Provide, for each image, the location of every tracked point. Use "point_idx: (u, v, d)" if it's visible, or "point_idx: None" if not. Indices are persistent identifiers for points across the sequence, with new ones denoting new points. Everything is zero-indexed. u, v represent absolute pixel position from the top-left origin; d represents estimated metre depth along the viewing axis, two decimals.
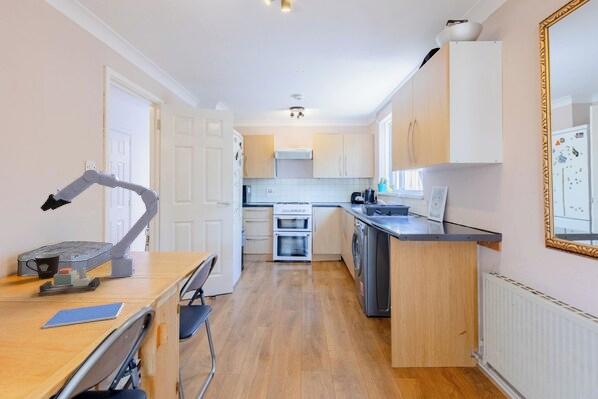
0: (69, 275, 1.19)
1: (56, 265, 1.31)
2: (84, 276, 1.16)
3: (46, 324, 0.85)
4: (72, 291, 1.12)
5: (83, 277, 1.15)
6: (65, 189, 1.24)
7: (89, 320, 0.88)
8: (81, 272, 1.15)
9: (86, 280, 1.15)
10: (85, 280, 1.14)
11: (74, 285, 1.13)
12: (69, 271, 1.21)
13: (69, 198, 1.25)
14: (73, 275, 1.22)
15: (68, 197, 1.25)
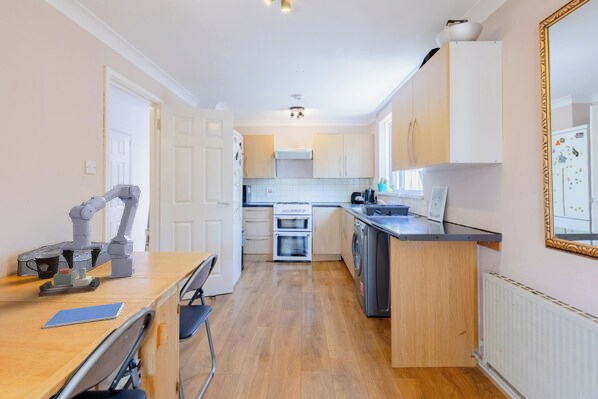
0: (69, 275, 1.19)
1: (56, 265, 1.31)
2: (84, 276, 1.16)
3: (46, 324, 0.85)
4: (72, 291, 1.12)
5: (83, 277, 1.15)
6: (87, 240, 1.15)
7: (89, 320, 0.88)
8: (81, 272, 1.15)
9: (86, 280, 1.15)
10: (85, 280, 1.14)
11: (74, 285, 1.13)
12: (69, 271, 1.21)
13: None
14: (73, 275, 1.22)
15: None
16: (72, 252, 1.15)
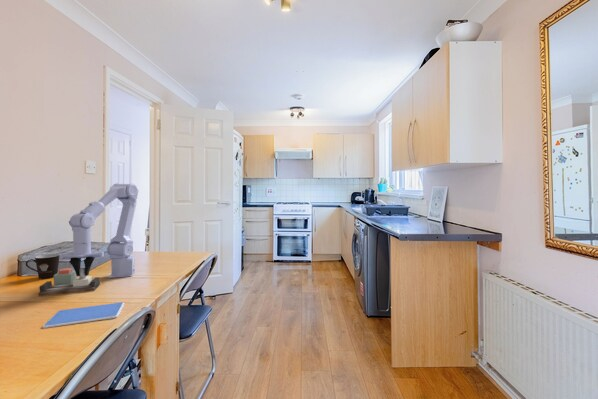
0: (69, 275, 1.19)
1: (56, 265, 1.31)
2: (84, 276, 1.16)
3: (46, 324, 0.85)
4: (72, 291, 1.12)
5: (83, 277, 1.15)
6: (87, 248, 1.15)
7: (89, 320, 0.88)
8: (81, 272, 1.15)
9: (86, 280, 1.15)
10: (85, 280, 1.14)
11: (74, 285, 1.13)
12: (69, 271, 1.21)
13: None
14: (73, 275, 1.22)
15: None
16: (79, 260, 1.16)
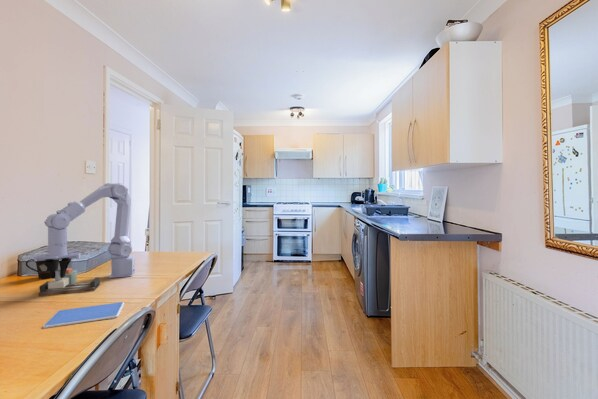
0: (69, 275, 1.19)
1: None
2: (60, 278, 1.13)
3: (46, 324, 0.85)
4: (72, 291, 1.12)
5: (59, 279, 1.13)
6: (63, 249, 1.12)
7: (90, 320, 0.88)
8: (57, 274, 1.12)
9: (62, 282, 1.12)
10: (60, 282, 1.12)
11: (49, 287, 1.10)
12: (69, 271, 1.21)
13: None
14: (73, 275, 1.22)
15: None
16: (55, 261, 1.14)
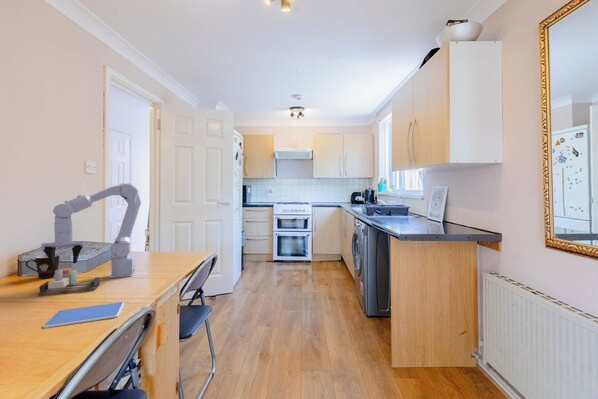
0: (69, 275, 1.19)
1: (56, 265, 1.31)
2: (60, 278, 1.13)
3: (47, 324, 0.85)
4: (72, 291, 1.12)
5: (59, 279, 1.13)
6: (68, 237, 1.19)
7: (90, 319, 0.88)
8: (57, 274, 1.12)
9: (62, 282, 1.12)
10: (60, 282, 1.12)
11: (49, 287, 1.10)
12: (69, 271, 1.21)
13: None
14: (73, 275, 1.22)
15: None
16: (54, 249, 1.19)
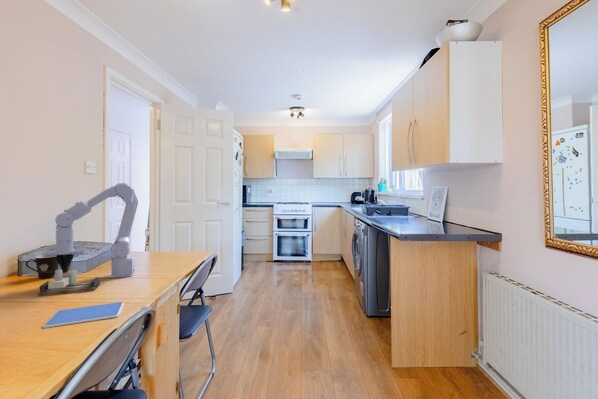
0: (69, 275, 1.19)
1: (56, 265, 1.31)
2: (60, 278, 1.13)
3: (47, 324, 0.85)
4: (72, 291, 1.12)
5: (59, 279, 1.13)
6: (70, 246, 1.20)
7: (90, 319, 0.88)
8: (57, 274, 1.12)
9: (62, 282, 1.12)
10: (60, 282, 1.12)
11: (49, 287, 1.10)
12: None
13: None
14: (73, 275, 1.22)
15: None
16: None
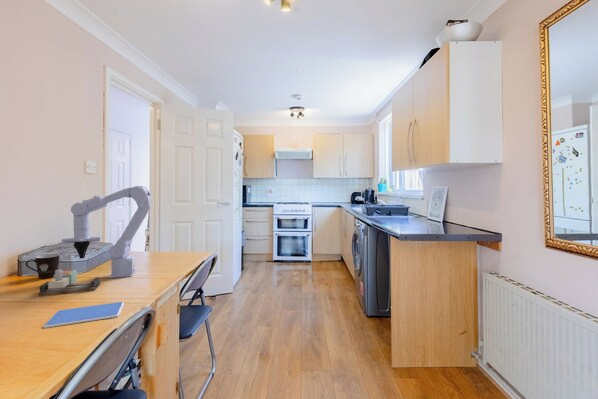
0: (69, 275, 1.19)
1: (56, 265, 1.31)
2: (60, 278, 1.13)
3: (47, 324, 0.85)
4: (72, 291, 1.12)
5: (59, 279, 1.13)
6: (86, 233, 1.29)
7: (90, 319, 0.88)
8: (57, 274, 1.12)
9: (62, 282, 1.12)
10: (60, 282, 1.12)
11: (49, 287, 1.10)
12: None
13: None
14: (73, 275, 1.22)
15: None
16: None
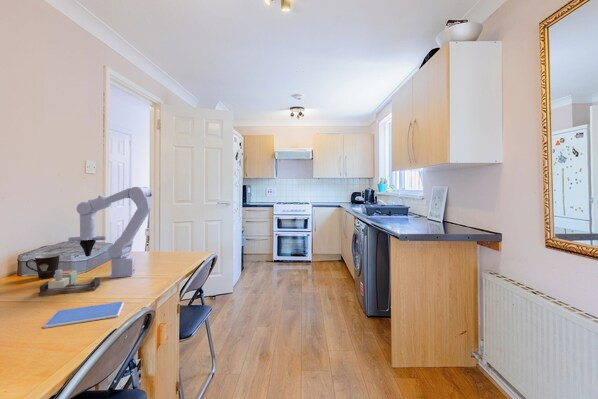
0: (69, 275, 1.19)
1: (56, 265, 1.31)
2: (60, 278, 1.13)
3: (47, 324, 0.85)
4: (72, 291, 1.12)
5: (59, 279, 1.13)
6: (92, 232, 1.32)
7: (91, 319, 0.89)
8: (57, 274, 1.12)
9: (62, 282, 1.12)
10: (60, 282, 1.12)
11: (49, 287, 1.10)
12: None
13: None
14: (73, 275, 1.22)
15: None
16: None
